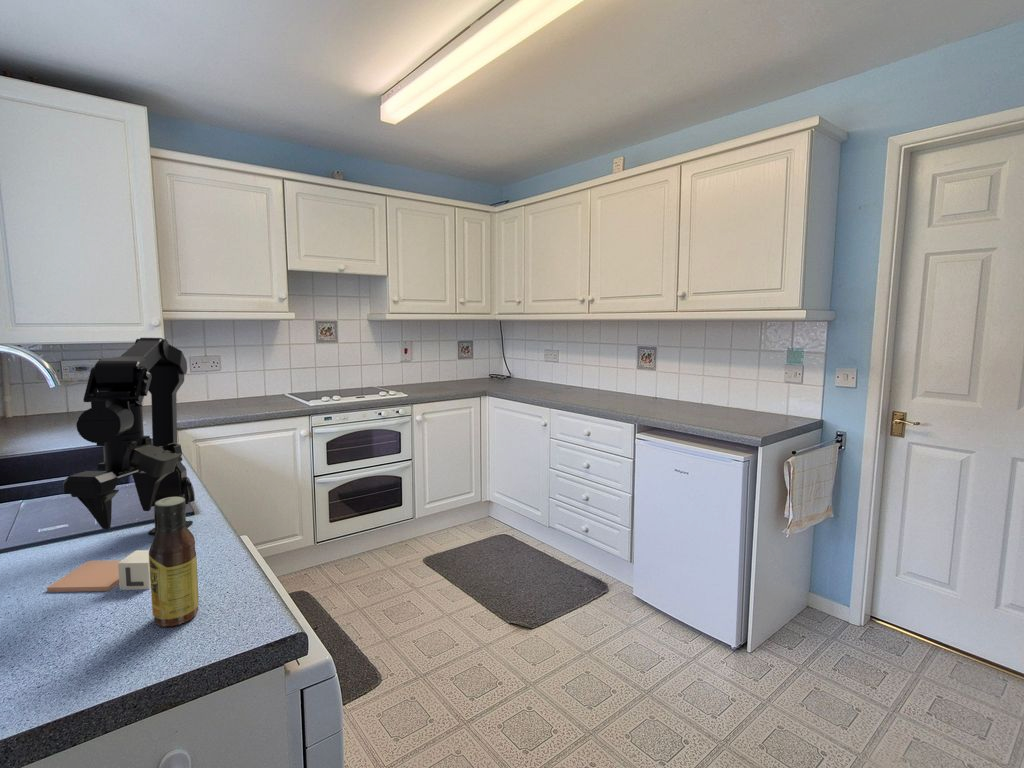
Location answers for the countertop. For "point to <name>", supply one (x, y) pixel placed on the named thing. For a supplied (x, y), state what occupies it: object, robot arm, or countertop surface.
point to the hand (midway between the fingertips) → (127, 519)
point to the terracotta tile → (89, 578)
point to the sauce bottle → (173, 565)
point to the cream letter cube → (135, 571)
